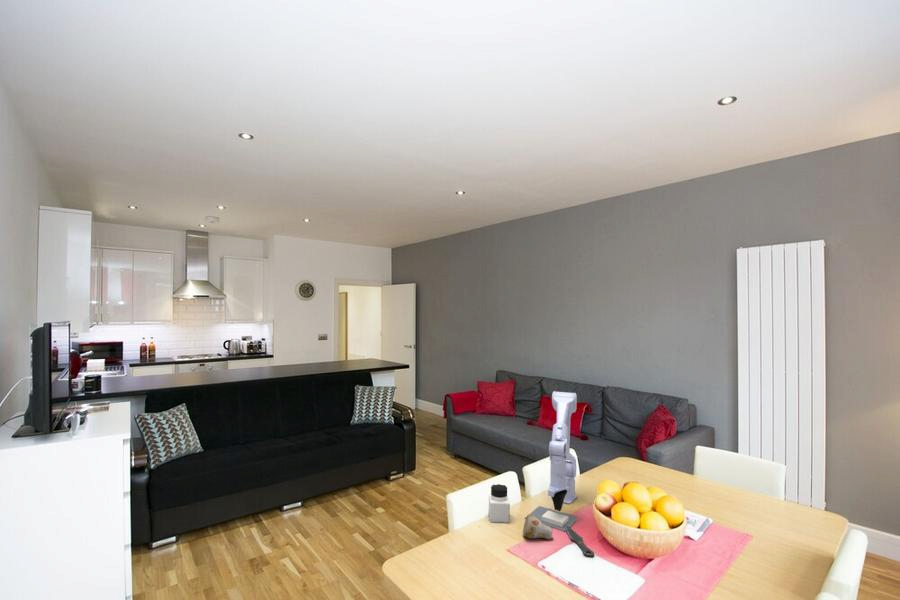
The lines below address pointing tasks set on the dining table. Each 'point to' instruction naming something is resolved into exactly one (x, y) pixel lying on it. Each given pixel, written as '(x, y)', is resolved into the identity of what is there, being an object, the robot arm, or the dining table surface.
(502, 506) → the medicine bottle
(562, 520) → the tile
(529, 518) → the mug
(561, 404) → the robot arm
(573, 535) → the throwing knife
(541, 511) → the mat
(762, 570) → the dining table surface
